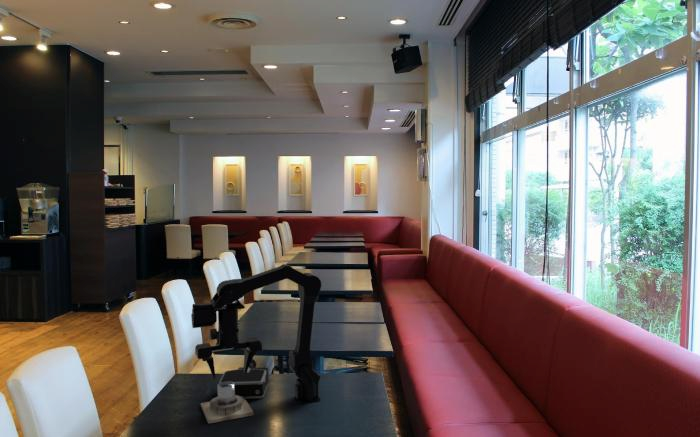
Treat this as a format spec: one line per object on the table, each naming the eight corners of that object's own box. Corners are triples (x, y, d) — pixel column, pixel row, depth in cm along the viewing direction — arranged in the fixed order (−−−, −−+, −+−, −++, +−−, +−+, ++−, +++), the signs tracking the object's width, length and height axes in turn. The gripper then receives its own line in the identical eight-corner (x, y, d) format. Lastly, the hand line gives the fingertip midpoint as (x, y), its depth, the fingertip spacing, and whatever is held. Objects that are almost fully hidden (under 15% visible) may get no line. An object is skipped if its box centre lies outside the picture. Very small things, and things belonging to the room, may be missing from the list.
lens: (237, 408, 159) (236, 385, 158) (220, 412, 156) (219, 388, 156) (233, 402, 163) (232, 379, 163) (216, 405, 161) (215, 382, 161)
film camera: (228, 380, 185) (271, 379, 185) (216, 404, 169) (263, 403, 168) (226, 358, 184) (269, 357, 183) (214, 380, 167) (261, 378, 167)
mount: (242, 399, 168) (242, 389, 168) (253, 415, 157) (253, 405, 156) (200, 406, 163) (200, 396, 163) (208, 423, 151) (208, 413, 151)
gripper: (252, 314, 169) (253, 362, 170) (191, 321, 161) (193, 372, 162) (262, 322, 159) (263, 374, 160) (197, 330, 151) (199, 384, 152)
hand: (229, 375), depth 159 cm, fingers open, 9 cm apart
